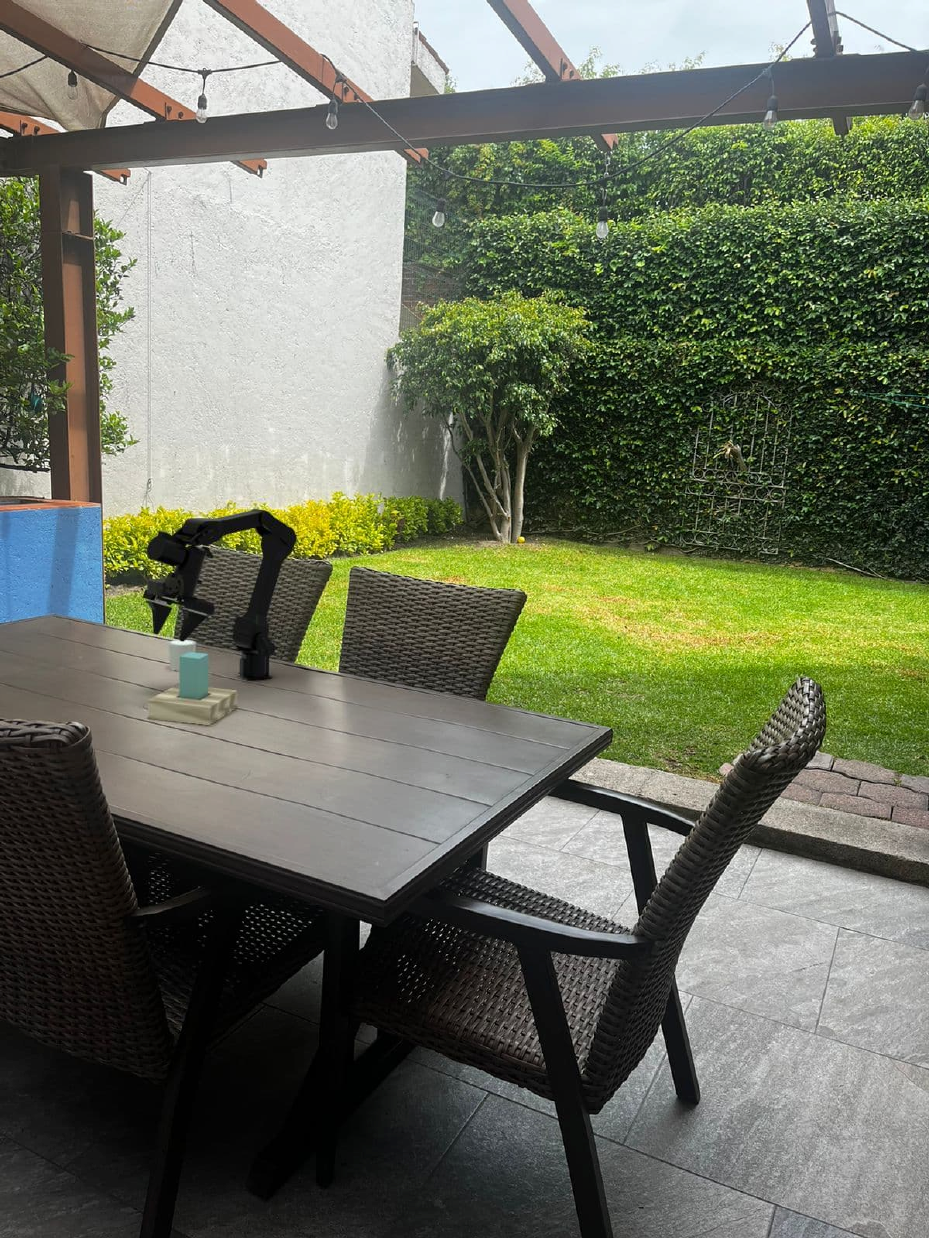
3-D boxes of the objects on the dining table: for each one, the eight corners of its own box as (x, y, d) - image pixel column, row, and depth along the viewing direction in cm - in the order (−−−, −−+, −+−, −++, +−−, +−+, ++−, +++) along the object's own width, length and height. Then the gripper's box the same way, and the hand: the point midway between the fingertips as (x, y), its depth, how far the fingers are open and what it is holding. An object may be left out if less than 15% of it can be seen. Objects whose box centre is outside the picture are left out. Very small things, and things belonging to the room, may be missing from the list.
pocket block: (179, 700, 208) (179, 683, 208) (237, 707, 206) (237, 690, 205) (147, 718, 195) (147, 700, 194) (209, 725, 192) (209, 707, 192)
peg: (188, 708, 203) (189, 651, 200) (207, 711, 202) (208, 654, 200) (179, 714, 199) (179, 656, 196) (198, 717, 198) (199, 658, 195)
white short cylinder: (191, 672, 232) (191, 646, 231) (164, 670, 232) (164, 644, 231) (199, 666, 239) (199, 640, 237) (173, 664, 239) (173, 638, 237)
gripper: (133, 557, 208) (113, 623, 207) (187, 568, 198) (166, 637, 197) (171, 570, 217) (153, 633, 216) (224, 581, 207) (205, 647, 206)
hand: (168, 637), depth 208 cm, fingers open, 9 cm apart
